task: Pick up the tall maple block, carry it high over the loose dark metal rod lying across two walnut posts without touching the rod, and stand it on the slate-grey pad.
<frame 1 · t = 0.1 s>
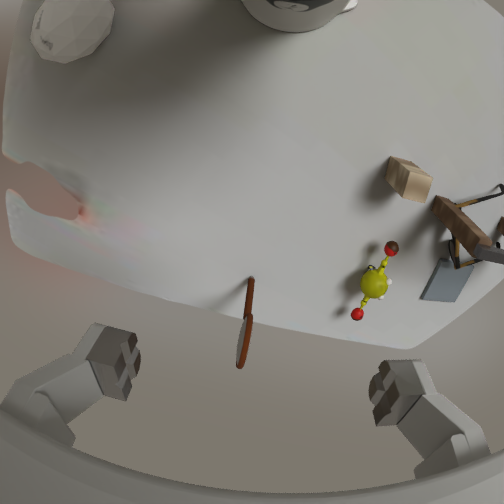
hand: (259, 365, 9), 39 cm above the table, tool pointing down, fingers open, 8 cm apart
geodesic sphere: (94, 25, 31), on the table
sunglasses: (473, 222, 45), on the table, touching rod stand
toy figure: (369, 269, 53), on the table
magnifying glass: (251, 276, 56), on the table
pad: (447, 280, 53), on the table
rod stand: (475, 214, 45), on the table
block: (398, 170, 42), on the table
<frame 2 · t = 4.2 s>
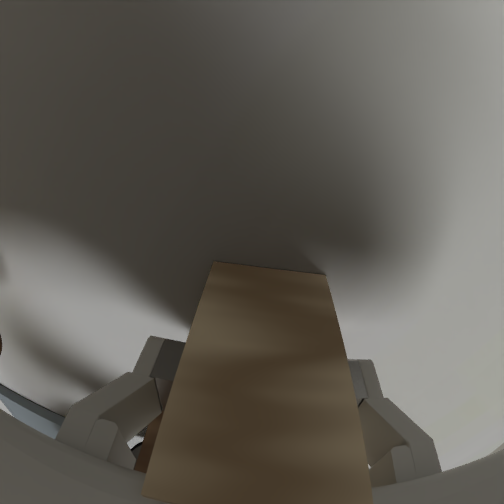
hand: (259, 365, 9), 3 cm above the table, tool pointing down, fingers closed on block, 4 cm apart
pad: (46, 425, 21), on the table
rod stand: (188, 470, 21), on the table
block: (262, 312, 11), on the table, touching gripper
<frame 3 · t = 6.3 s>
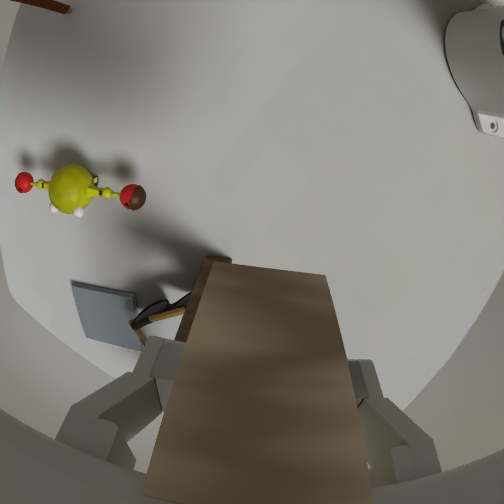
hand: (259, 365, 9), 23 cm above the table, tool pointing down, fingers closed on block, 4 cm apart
sunglasses: (203, 331, 39), on the table, touching rod stand
toy figure: (91, 179, 30), on the table
magnifying glass: (71, 11, 20), on the table
pad: (108, 315, 39), on the table
rod stand: (214, 330, 39), on the table
block: (262, 312, 11), point 21 cm above the table, touching gripper
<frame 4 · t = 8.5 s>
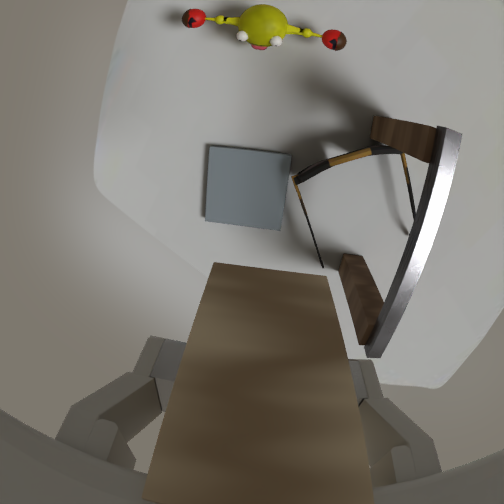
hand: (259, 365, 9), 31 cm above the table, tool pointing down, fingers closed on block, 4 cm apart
sunglasses: (355, 201, 37), on the table, touching rod stand
toy figure: (264, 35, 28), on the table
rod: (410, 254, 24), point 15 cm above the table, touching rod stand
pad: (246, 187, 37), on the table
rod stand: (367, 200, 37), on the table
block: (263, 313, 11), point 28 cm above the table, touching gripper
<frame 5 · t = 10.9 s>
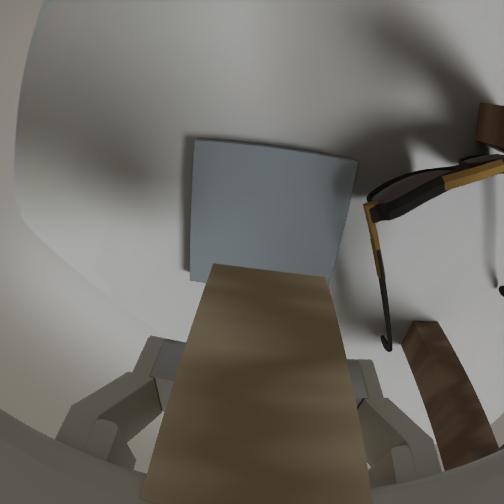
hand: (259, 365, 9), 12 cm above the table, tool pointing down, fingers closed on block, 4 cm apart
sunglasses: (445, 244, 20), on the table, touching rod stand
pad: (267, 219, 20), on the table
rod stand: (461, 242, 20), on the table
block: (262, 314, 11), point 10 cm above the table, touching gripper
when the fingers open (5 cm above the table, at t = 12.8 s): block drops 1 cm, resting on pad.
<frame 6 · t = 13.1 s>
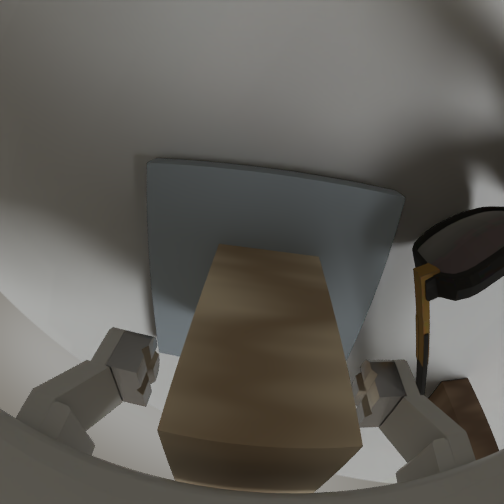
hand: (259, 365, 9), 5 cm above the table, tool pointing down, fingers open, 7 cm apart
sunglasses: (493, 296, 13), on the table, touching rod stand
pad: (263, 278, 13), on the table
block: (262, 291, 13), point 1 cm above the table, touching pad
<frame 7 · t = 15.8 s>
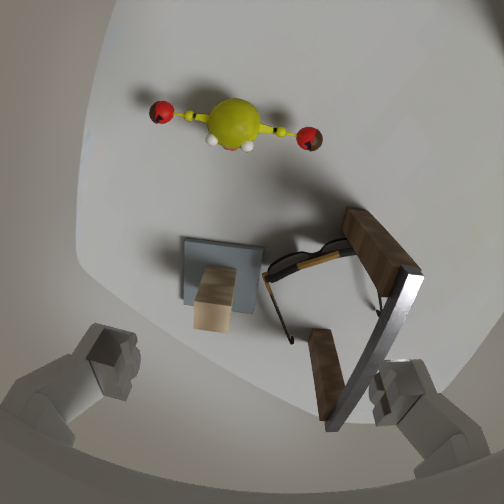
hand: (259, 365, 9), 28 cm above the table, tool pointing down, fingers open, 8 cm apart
sunglasses: (324, 286, 40), on the table, touching rod stand
toy figure: (237, 123, 31), on the table
rod: (364, 363, 27), point 15 cm above the table, touching rod stand
pad: (221, 276, 40), on the table
rod stand: (336, 284, 40), on the table
block: (220, 280, 39), point 1 cm above the table, touching pad
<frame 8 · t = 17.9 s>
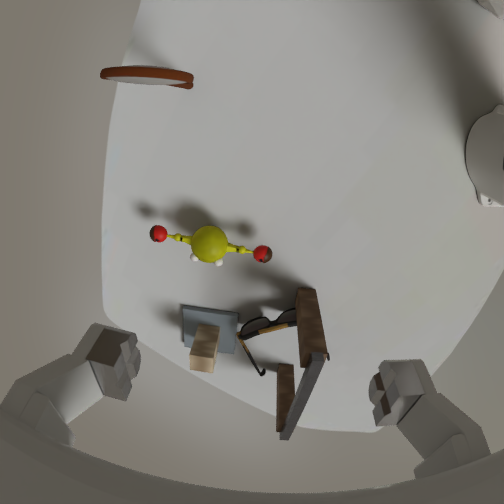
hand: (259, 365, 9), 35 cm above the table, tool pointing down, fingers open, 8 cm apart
sunglasses: (285, 337, 55), on the table, touching rod stand
toy figure: (214, 232, 46), on the table
magnifying glass: (191, 85, 36), on the table
rod: (298, 400, 41), point 15 cm above the table, touching rod stand
pad: (210, 329, 55), on the table
rod stand: (294, 336, 54), on the table
block: (209, 333, 54), point 1 cm above the table, touching pad
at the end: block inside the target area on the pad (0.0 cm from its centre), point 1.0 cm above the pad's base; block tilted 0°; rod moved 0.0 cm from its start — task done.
